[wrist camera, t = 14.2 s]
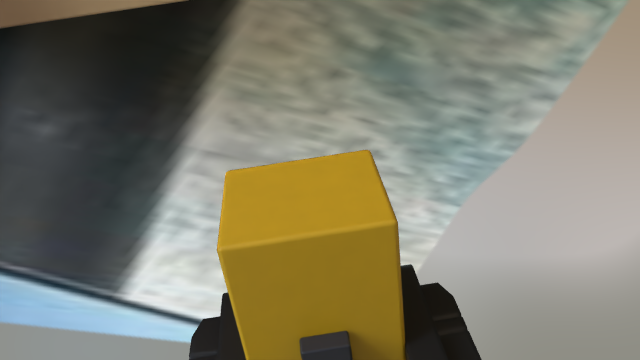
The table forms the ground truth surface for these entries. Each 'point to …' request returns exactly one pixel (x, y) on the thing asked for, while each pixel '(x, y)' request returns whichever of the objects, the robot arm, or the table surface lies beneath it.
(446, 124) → the table surface
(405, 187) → the table surface
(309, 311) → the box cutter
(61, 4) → the cabinet
